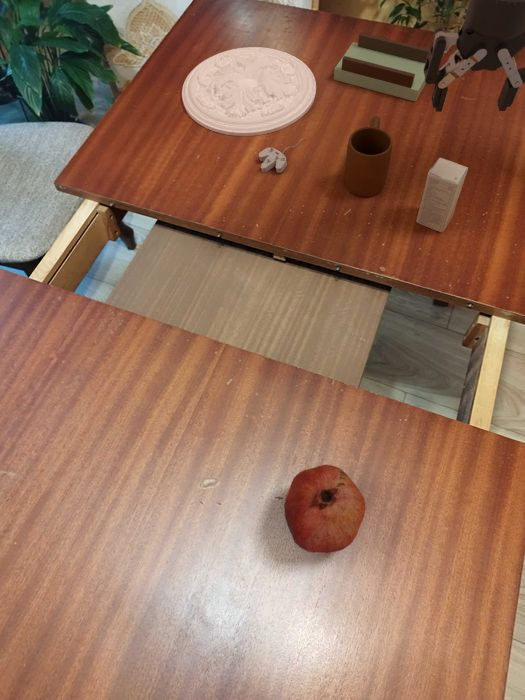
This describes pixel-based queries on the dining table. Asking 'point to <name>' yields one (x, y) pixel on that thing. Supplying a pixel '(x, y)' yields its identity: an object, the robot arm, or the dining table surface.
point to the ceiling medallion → (249, 91)
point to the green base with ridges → (384, 66)
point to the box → (441, 194)
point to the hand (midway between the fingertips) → (469, 107)
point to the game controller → (273, 159)
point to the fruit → (324, 509)
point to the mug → (367, 159)
